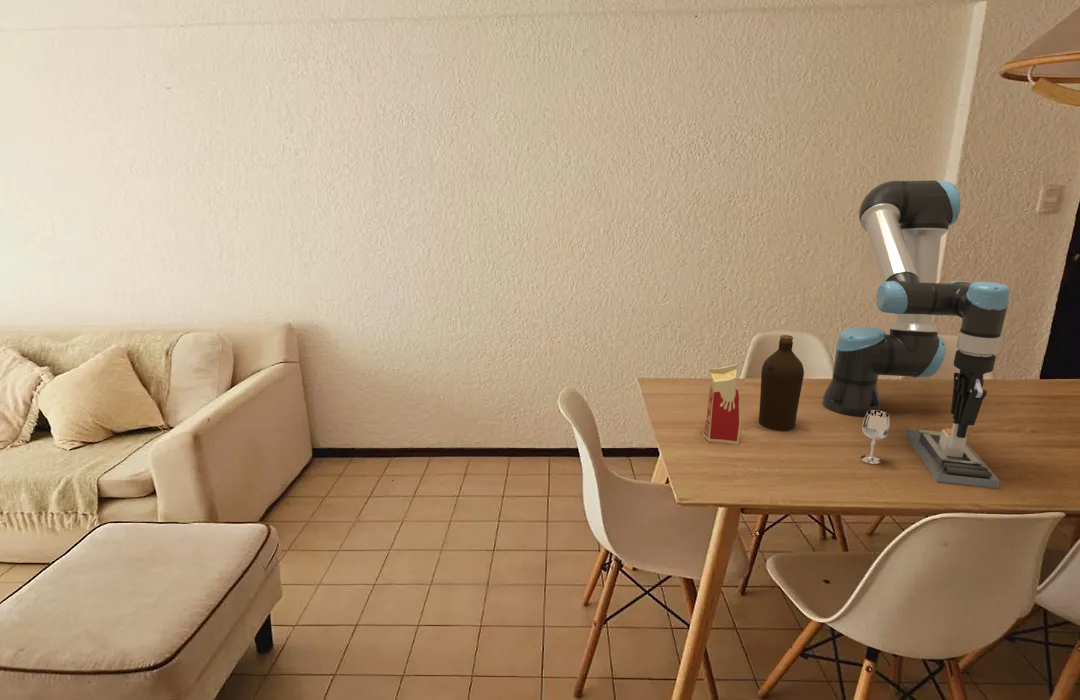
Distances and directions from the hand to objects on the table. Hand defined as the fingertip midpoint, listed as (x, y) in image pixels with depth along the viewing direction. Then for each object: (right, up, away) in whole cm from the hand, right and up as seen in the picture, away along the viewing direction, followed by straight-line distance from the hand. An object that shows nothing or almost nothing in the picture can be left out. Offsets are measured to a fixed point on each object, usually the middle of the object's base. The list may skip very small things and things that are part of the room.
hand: (955, 447), depth 148 cm
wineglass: (-18, -4, +5) cm, 19 cm away
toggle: (+1, -2, +3) cm, 4 cm away
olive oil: (-33, +2, +25) cm, 41 cm away
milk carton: (-50, 0, +18) cm, 53 cm away
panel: (+1, -4, +5) cm, 6 cm away
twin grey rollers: (-2, -5, -6) cm, 8 cm away
